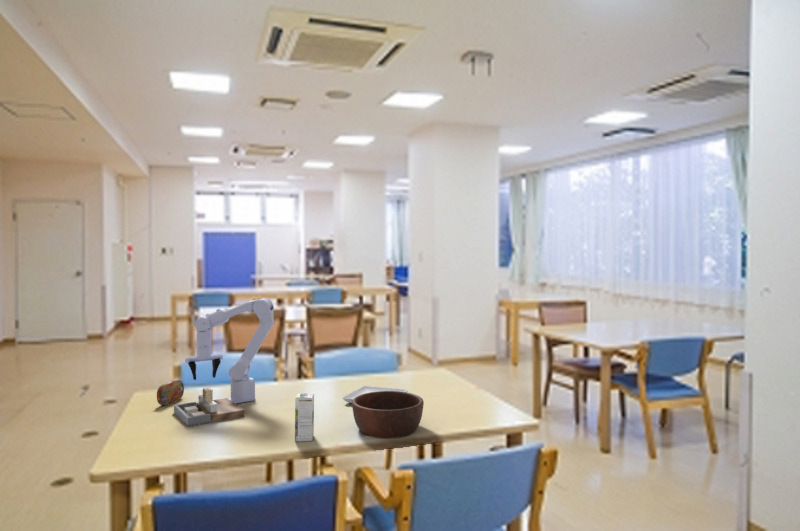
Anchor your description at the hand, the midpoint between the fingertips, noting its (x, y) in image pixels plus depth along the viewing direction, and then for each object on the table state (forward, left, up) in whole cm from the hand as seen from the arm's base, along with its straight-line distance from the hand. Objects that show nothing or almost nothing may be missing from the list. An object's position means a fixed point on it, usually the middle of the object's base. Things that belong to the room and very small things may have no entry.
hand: (204, 378), depth 221 cm
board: (0, +20, -9) cm, 22 cm away
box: (+10, +20, -9) cm, 24 cm away
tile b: (+9, +24, -9) cm, 28 cm away
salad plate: (-58, +41, -10) cm, 72 cm away
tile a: (+9, +16, -9) cm, 20 cm away
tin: (+12, -6, -10) cm, 17 cm away
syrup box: (-14, +65, -10) cm, 67 cm away
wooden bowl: (-42, +73, -10) cm, 85 cm away
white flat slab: (+4, +20, -7) cm, 21 cm away
